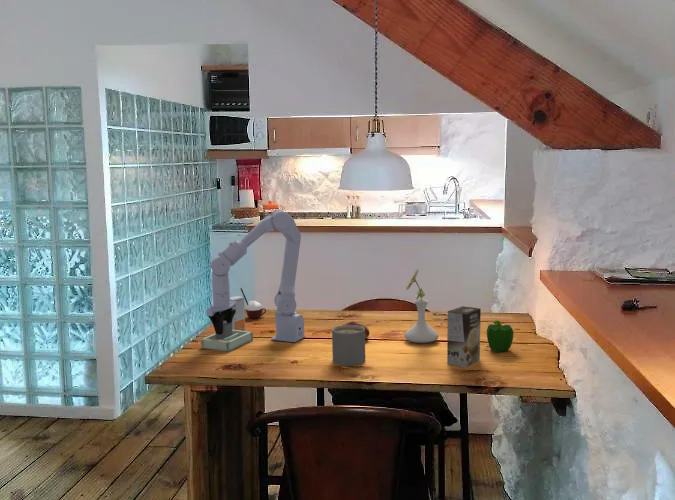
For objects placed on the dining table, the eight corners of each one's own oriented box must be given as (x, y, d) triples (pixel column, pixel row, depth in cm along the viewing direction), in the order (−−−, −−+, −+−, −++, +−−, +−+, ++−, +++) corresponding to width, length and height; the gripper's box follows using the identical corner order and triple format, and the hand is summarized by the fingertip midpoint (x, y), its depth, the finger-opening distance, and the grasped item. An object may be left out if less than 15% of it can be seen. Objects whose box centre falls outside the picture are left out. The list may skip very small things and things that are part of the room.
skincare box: (233, 332, 236) (232, 299, 235) (225, 330, 239) (224, 298, 237) (246, 328, 241) (244, 296, 239) (237, 327, 244) (236, 295, 242)
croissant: (354, 340, 236) (344, 320, 236) (378, 328, 233) (368, 308, 233) (338, 356, 216) (327, 334, 216) (364, 344, 213) (353, 322, 213)
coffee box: (465, 368, 192) (466, 314, 190) (446, 364, 196) (446, 311, 194) (480, 360, 199) (481, 308, 197) (461, 356, 203) (461, 305, 201)
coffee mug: (363, 366, 196) (363, 333, 194) (330, 365, 197) (329, 333, 195) (367, 352, 209) (367, 322, 207) (336, 352, 210) (335, 321, 209)
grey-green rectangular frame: (252, 340, 226) (252, 331, 225) (229, 351, 213) (228, 342, 213) (226, 337, 231) (225, 328, 230) (201, 348, 218) (201, 339, 218)
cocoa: (266, 316, 260) (266, 286, 259) (263, 320, 254) (263, 289, 253) (242, 315, 261) (243, 285, 260) (238, 319, 255) (239, 288, 254)
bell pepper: (502, 345, 214) (502, 315, 212) (518, 351, 206) (518, 320, 205) (480, 348, 211) (480, 317, 209) (495, 355, 203) (495, 323, 202)
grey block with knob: (232, 337, 223) (231, 320, 222) (225, 340, 219) (224, 323, 219) (222, 336, 225) (222, 319, 224) (215, 339, 221) (214, 322, 220)
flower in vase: (413, 334, 228) (412, 263, 225) (443, 338, 222) (444, 265, 219) (396, 344, 217) (395, 269, 214) (428, 348, 211) (428, 272, 208)
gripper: (224, 287, 228) (225, 325, 230) (197, 296, 215) (200, 336, 217) (241, 289, 225) (242, 327, 227) (215, 297, 212) (217, 338, 214)
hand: (223, 332), depth 222 cm, fingers closed on grey block with knob, 4 cm apart
